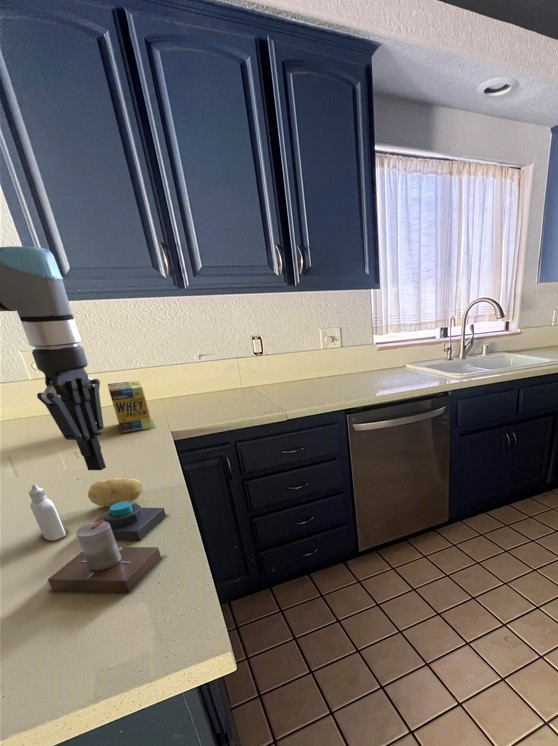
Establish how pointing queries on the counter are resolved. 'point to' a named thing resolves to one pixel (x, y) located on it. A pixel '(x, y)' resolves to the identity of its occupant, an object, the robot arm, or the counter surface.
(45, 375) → the robot arm
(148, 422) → the protein box
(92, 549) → the dial
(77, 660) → the counter surface
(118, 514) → the teal round puck
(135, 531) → the push button box
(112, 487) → the potato
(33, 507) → the eye dropper bottle
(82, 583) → the dial panel
